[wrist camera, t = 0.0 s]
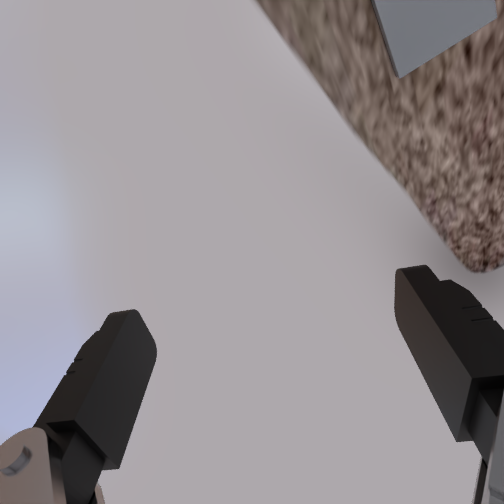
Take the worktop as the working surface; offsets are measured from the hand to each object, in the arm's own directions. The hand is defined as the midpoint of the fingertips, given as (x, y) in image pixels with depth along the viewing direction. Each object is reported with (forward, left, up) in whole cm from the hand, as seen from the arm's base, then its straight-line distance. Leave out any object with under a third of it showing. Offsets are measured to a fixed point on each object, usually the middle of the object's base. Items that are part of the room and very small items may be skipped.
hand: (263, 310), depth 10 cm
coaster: (-10, +10, -22) cm, 27 cm away
